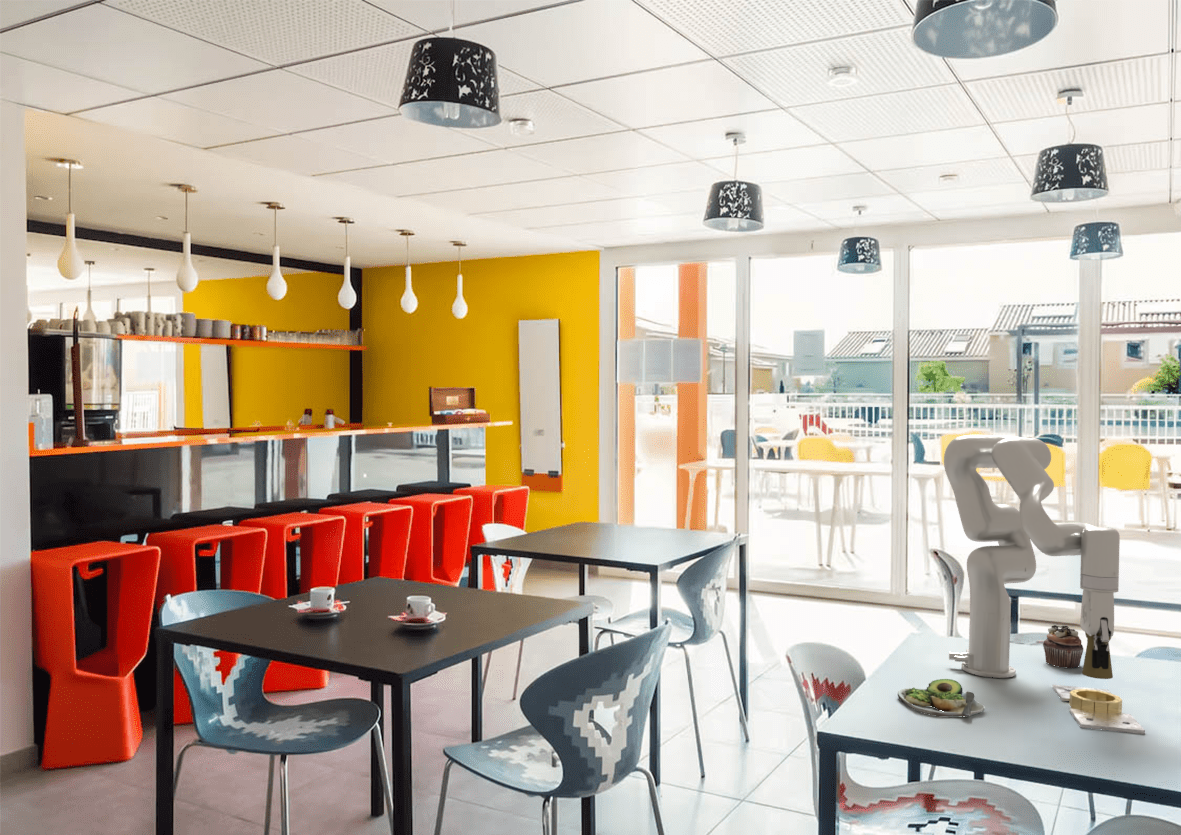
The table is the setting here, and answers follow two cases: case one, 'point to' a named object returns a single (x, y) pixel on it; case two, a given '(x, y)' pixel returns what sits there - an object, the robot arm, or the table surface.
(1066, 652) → the cupcake
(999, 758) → the table surface
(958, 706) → the avocado toast plate
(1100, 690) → the mounting plate with ring
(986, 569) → the robot arm
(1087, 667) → the cork
